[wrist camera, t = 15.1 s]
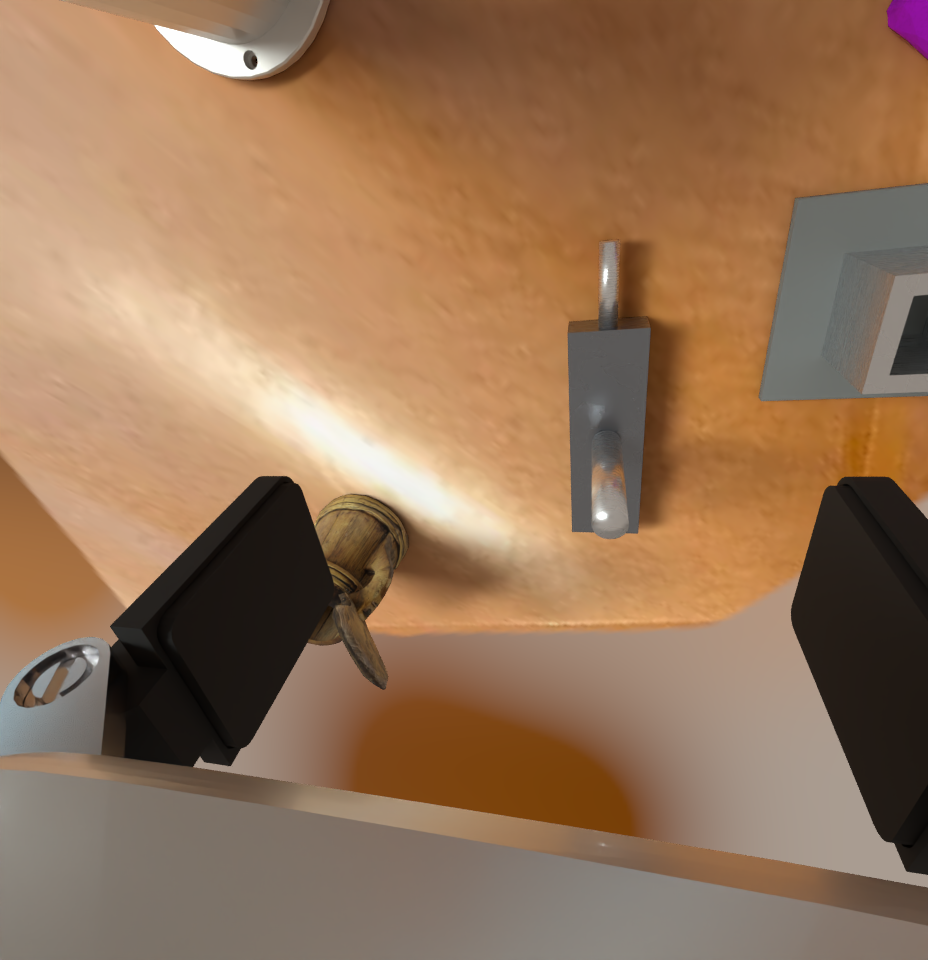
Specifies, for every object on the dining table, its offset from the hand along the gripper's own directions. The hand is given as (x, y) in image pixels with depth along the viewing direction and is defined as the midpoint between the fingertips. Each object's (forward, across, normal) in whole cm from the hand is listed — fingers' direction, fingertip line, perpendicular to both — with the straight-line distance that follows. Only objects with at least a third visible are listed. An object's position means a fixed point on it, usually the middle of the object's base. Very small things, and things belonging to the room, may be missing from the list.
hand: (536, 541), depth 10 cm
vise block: (+28, -2, +9) cm, 30 cm away
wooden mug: (+28, +18, +22) cm, 40 cm away
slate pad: (+28, -18, +4) cm, 34 cm away
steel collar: (+28, -18, +4) cm, 33 cm away
